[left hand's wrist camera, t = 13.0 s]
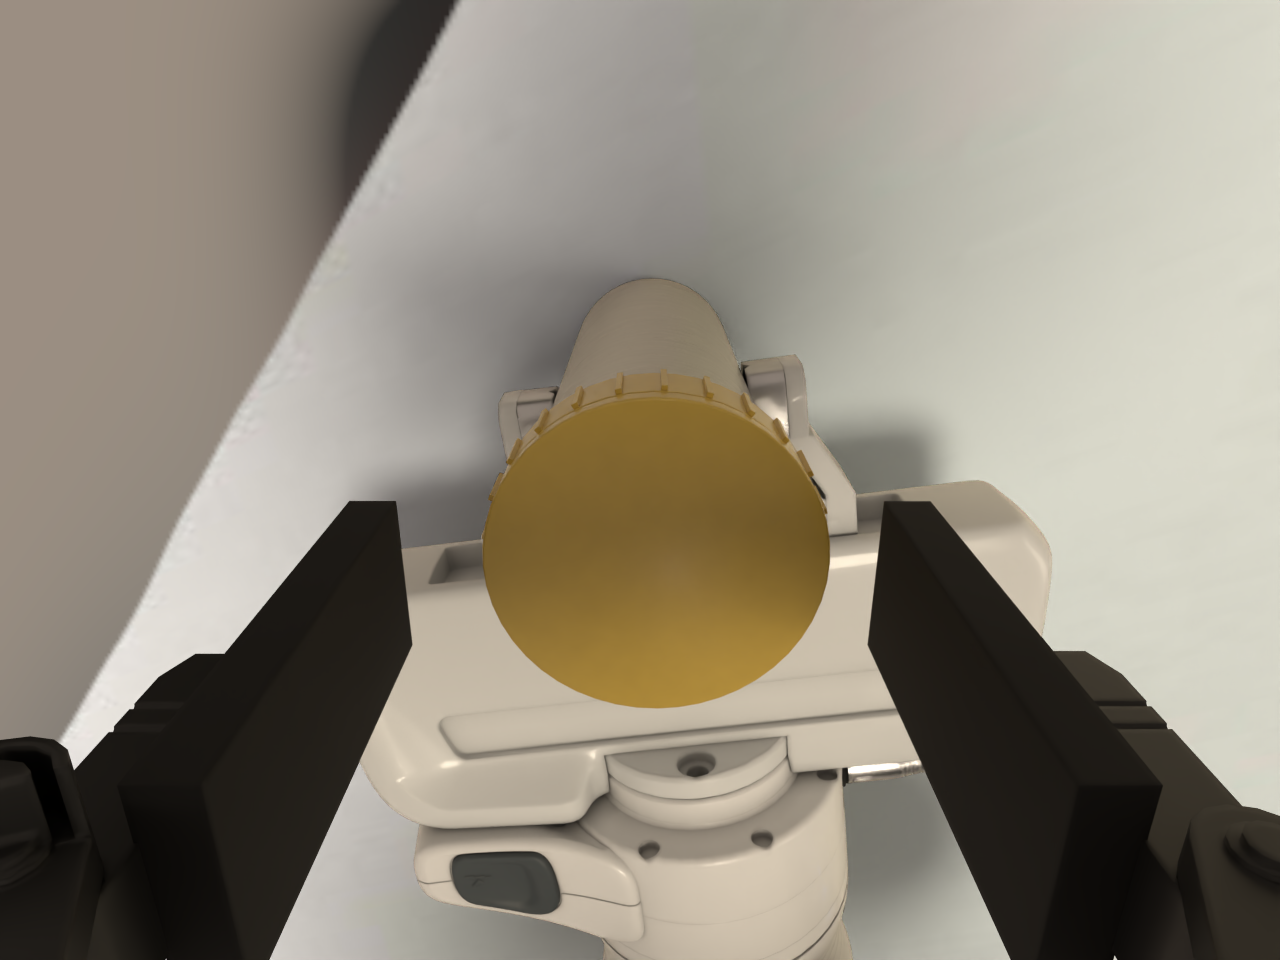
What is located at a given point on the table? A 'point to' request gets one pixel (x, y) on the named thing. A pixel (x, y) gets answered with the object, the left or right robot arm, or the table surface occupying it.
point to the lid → (656, 541)
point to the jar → (651, 338)
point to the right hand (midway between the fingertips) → (646, 378)
